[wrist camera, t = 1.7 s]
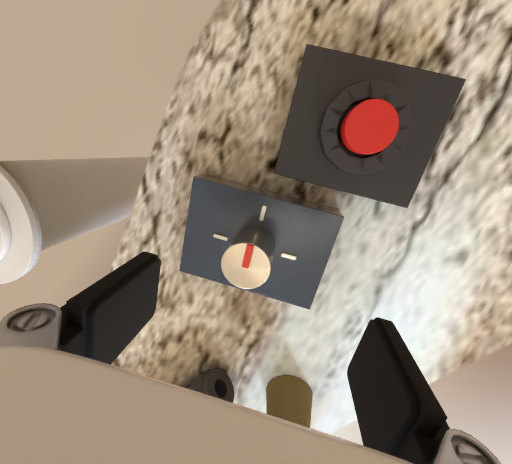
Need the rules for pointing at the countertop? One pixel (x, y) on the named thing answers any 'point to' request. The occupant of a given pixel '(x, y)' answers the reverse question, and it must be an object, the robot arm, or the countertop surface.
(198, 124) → the countertop surface
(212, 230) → the control panel
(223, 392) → the flashlight
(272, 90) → the countertop surface
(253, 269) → the dial
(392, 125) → the power button
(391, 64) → the switch block
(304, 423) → the cork
